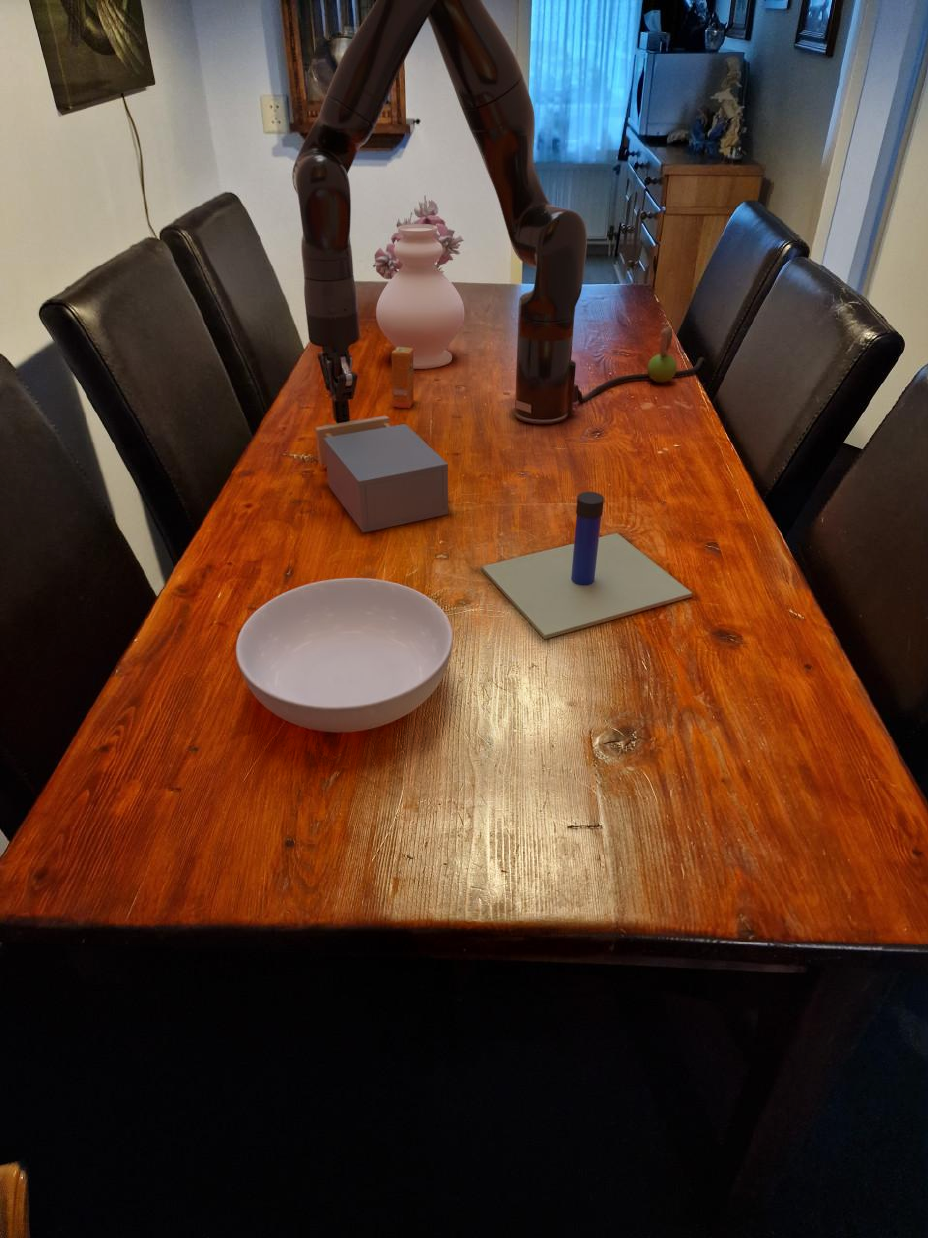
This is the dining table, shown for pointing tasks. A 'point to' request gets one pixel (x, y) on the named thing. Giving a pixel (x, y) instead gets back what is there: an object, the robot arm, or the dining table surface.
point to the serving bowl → (345, 653)
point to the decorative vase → (420, 300)
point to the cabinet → (386, 477)
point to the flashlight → (586, 537)
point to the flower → (389, 262)
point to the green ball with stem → (663, 359)
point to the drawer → (346, 431)
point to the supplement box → (402, 377)
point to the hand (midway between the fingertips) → (341, 421)
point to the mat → (583, 586)
